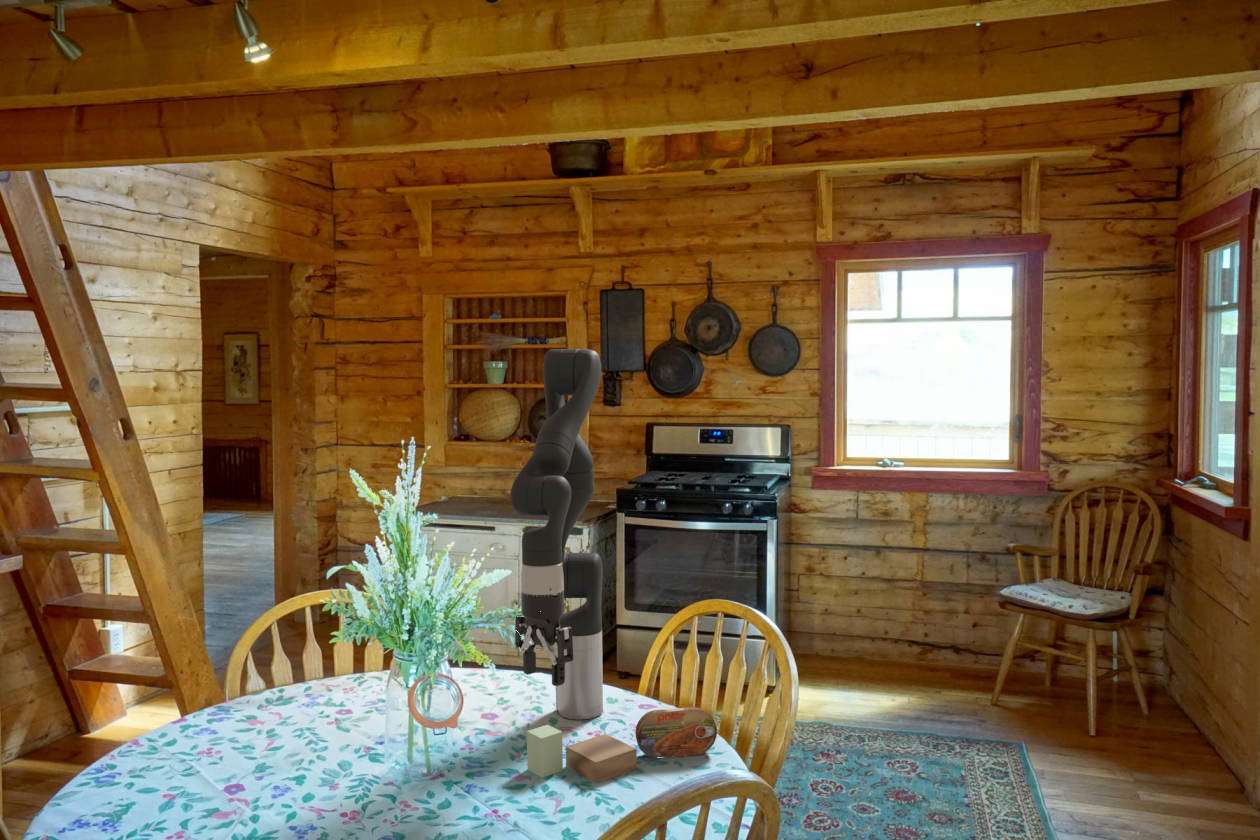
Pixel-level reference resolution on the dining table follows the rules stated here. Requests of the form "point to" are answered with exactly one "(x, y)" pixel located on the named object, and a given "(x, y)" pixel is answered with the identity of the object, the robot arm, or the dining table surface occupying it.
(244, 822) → the dining table surface
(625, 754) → the walnut base
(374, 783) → the dining table surface
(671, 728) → the tin
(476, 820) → the dining table surface
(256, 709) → the dining table surface
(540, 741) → the sage block
